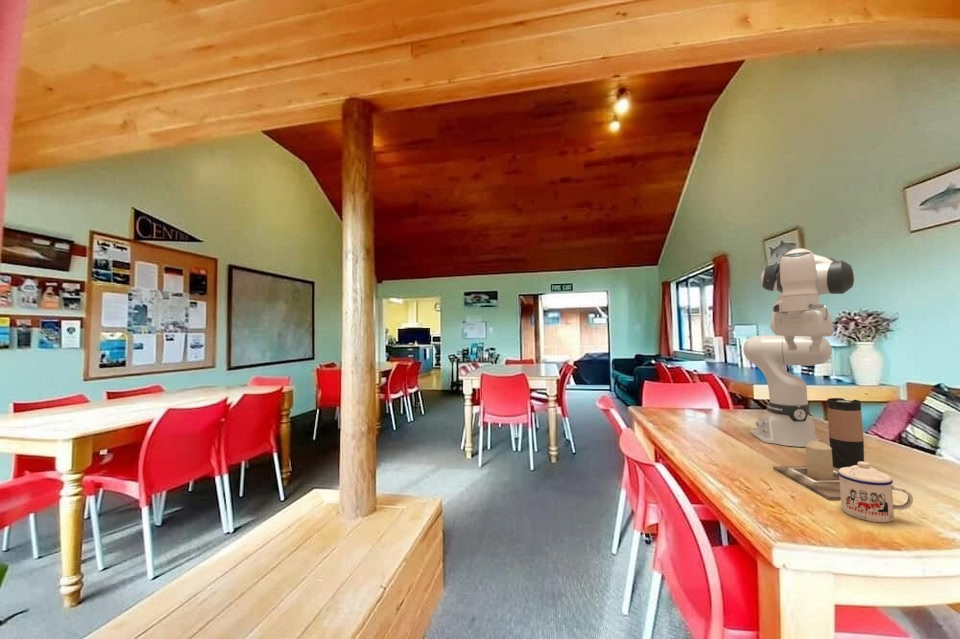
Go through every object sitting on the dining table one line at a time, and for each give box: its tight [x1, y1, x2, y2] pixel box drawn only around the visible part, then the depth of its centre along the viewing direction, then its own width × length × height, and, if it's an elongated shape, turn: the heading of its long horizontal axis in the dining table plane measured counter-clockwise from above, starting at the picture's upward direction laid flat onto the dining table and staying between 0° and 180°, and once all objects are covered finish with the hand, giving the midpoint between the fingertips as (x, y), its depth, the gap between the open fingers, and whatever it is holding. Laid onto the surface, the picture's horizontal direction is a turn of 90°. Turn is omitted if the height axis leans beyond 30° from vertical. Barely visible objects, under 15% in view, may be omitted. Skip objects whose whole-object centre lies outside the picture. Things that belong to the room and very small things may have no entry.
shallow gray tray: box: [772, 465, 841, 501], centre depth 109 cm, size 22×13×2 cm, turn 174°
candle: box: [805, 440, 834, 481], centre depth 111 cm, size 6×6×10 cm
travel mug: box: [826, 397, 865, 470], centre depth 120 cm, size 8×8×20 cm
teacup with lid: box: [837, 461, 914, 523], centre depth 91 cm, size 12×9×12 cm
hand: (803, 351), depth 121 cm, fingers open, 8 cm apart
